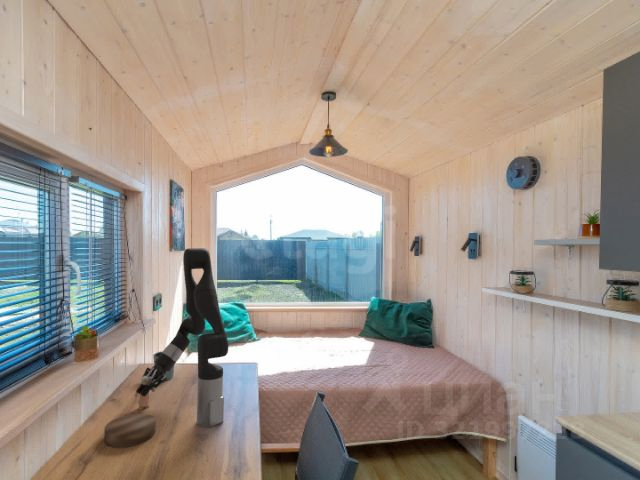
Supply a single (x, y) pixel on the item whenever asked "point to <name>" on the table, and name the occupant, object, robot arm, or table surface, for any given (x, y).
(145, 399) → the grandmother figurine
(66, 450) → the table surface
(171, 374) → the grey-green cup
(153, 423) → the walnut plinth
